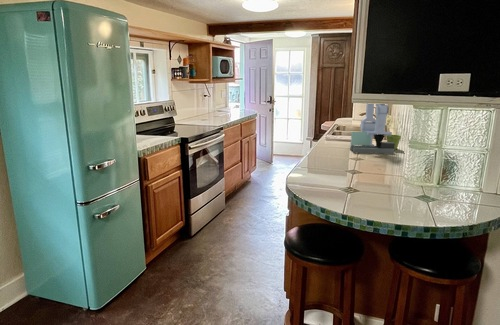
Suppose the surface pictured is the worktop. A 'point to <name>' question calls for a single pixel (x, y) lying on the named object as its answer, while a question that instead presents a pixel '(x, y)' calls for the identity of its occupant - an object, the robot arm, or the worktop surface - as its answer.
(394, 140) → the plant pot
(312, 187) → the worktop surface
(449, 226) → the worktop surface
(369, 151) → the grey frame
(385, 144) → the block
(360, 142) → the cover
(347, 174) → the worktop surface
